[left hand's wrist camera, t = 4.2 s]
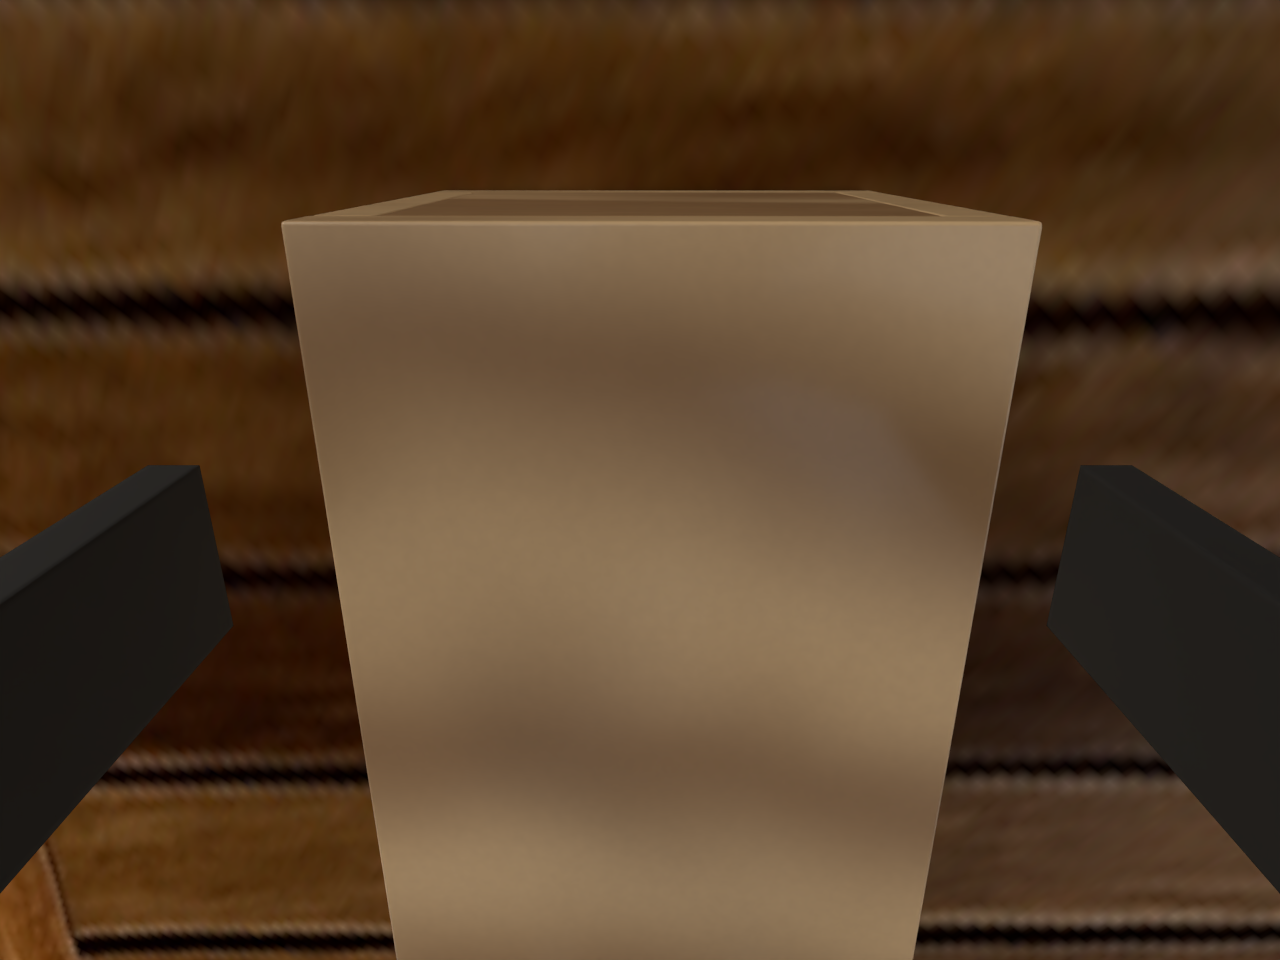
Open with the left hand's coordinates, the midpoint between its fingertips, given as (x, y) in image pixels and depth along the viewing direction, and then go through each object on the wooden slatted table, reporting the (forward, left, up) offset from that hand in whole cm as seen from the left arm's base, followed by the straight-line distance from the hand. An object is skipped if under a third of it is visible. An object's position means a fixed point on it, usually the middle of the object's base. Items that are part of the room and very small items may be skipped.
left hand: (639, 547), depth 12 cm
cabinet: (0, +6, -12) cm, 14 cm away
